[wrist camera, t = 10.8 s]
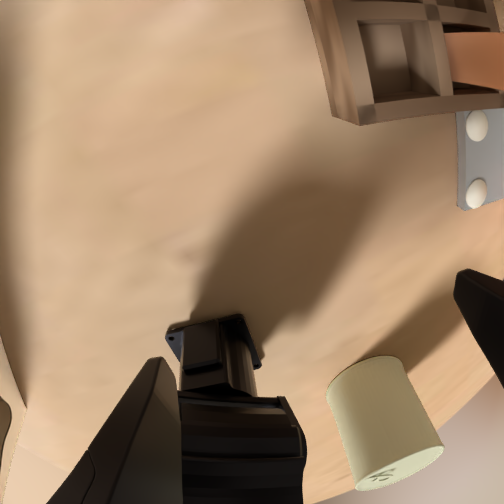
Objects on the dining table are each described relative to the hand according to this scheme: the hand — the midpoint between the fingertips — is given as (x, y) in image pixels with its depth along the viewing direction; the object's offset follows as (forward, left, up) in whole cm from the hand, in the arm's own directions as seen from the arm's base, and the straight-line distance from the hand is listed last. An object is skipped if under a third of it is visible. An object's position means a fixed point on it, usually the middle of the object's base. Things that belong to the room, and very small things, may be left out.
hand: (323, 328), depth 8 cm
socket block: (+9, -11, -13) cm, 19 cm away
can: (-25, -6, -13) cm, 28 cm away
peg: (+6, -14, -12) cm, 19 cm away
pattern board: (-2, -19, -13) cm, 23 cm away
